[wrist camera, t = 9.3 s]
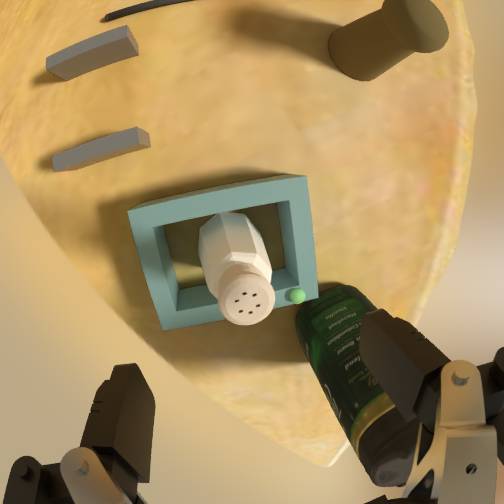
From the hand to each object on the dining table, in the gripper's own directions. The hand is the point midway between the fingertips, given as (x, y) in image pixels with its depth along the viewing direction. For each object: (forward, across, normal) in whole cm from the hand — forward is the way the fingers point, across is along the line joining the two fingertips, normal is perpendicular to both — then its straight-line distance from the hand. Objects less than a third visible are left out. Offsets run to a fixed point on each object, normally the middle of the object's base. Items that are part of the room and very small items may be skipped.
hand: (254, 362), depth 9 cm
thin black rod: (+16, +1, -23) cm, 28 cm away
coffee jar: (+15, -9, +11) cm, 21 cm away
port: (+15, 0, 0) cm, 16 cm away
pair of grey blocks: (+16, +8, -14) cm, 22 cm away
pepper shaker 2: (+16, -15, -16) cm, 27 cm away
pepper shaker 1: (+16, 0, 0) cm, 16 cm away
